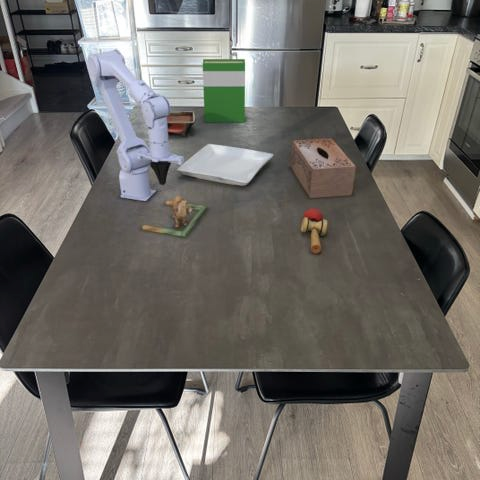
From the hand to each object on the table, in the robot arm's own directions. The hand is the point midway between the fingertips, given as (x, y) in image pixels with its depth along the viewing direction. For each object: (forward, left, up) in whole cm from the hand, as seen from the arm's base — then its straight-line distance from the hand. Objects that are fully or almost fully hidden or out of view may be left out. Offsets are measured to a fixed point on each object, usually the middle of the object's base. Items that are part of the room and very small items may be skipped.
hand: (162, 183), depth 165 cm
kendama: (+49, -3, -9) cm, 50 cm away
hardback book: (-10, +88, -9) cm, 89 cm away
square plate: (+9, +35, -9) cm, 37 cm away
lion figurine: (+8, -6, -9) cm, 13 cm away
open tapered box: (-24, +65, -9) cm, 70 cm away
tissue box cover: (+43, +37, -9) cm, 57 cm away
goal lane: (+6, -5, -9) cm, 12 cm away
